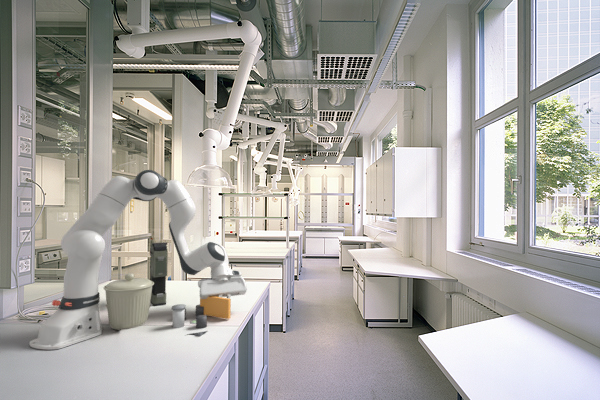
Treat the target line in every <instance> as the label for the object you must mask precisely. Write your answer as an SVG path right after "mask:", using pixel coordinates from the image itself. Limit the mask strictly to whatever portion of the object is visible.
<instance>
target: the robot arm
mask: <svg viewBox="0 0 600 400" xmlns="http://www.w3.org/2000/svg"><path fill="white" fill-rule="evenodd" d="M132 199H133V200H138V201H142V202H151V201H153V200H155V199H160V200H161V201H162V202H163V203H164V204H165V207H166V208H167V210H168V212H169V213H168V214H169V216H170V217H169V218H170V222H169V223H168V228H169V233H170V236H171V238H172V241H173V244H174V247H175V250H176V252H177V256H178V258H179V263H180V267H181V269H182V272H184V273H186V274H187V275H190V276H195V275H197V274H199V273H200V272H201V271H203V270H205V269H207V268H208V267H210V277H207V278H201V279H199V280H198V282H197V287H198V288H199V299H200V298H201V299H206V298H208V297H209V296H215V297H222V298H229V299H231V297H235V296H243V295H244V296H245V295H246V293H247V292H248V287H247V284H246V281H245V279H244V277H243V276H242V271H240V270H235V269H231V268H230V266H229V264H230V261H229V257H228V253H227V250H226V248H225V247H224V246H223V245H222V244H217V243H216V242H213V241H209V242H207V243H205V244H202V245H200V246H199V247H197V248H196V249H194V250H190V249H189V245H188V243H187V240H186V237H185V230H186V228H187V226H188V225H189V224H190V223H191V222H192V221H193V219H194V217H195V216H196V212H197V206H196V203H195V202H194V200H193V199H192V197H191V195H190V193H189V192H188V190H187V189H186V187H185V186H184V185H183V184H182V183H181V181H179V180H177V179H171V180H168V179H167V178H166V177H164V176H163V175H161V173H159V172H157V171H156V170H152V169H144V170H142V171H141V172H139V173H137V175H136V176H135V178H134V179H131V178H128V177H126V176H122V175H116V176H114V177H112V178H111V179H110V180H109V181H108V182H107V183H106V184H105V185H104V187H103V188H102V189H101V190H100V191H99V192H98V194H97V196H95V198H94V199H93V201H92V202H91V203H90V205H89V206H88V208H87V209H86V210H85V212H83V214H82V215H81V216H80V217H79V218H78V219H76V221H75V223H73V224H72V226H71V227H70V228H69V230H68V231H67V232H66V233H65V234H64V235H63V236H62V238H61V242H60V247H61V250H62V251H63V252H64V253H65V254H66V255H67V263H66V267H65V272H64V274H63V296H62V297H61V300H58V299H53V300H52V302H51V305H52V306H53V307H57V308H58V309H57V310H56V311H54V313H52V314H51V315H50V316H49V317H48V318H47V319H46V320H45V321H44V322H43V323H42V324H40V327H39V329H38V332H37V333H38V334H37V338H34V339H32V340H30V341H29V347H31V348H33V349H37V350H44V351H45V350H49V351H51V350H59V349H63V348H66V347H68V346H71V345H75V344H78V343H81V342H83V341H87V340H90V339H92V338H95V337H99V336H101V335H102V333H103V332H102V331H103V330H104V329H103V325H102V322H101V316H100V310H99V309H100V308H99V303H100V298H101V297H100V292H99V277H100V276H99V275H100V268H101V263H102V259H103V253H104V251H105V249H106V241H105V239H104V238H103V236H104V235H105V233H107V232H108V230H110V229H111V228H112V227H113V226H114V225H115V224H116V222H117V221H118V219H119V218H120V217H121V215H122V214H123V212H124V211H125V209H126V207H127V206H128V204H129V203H130V202H131V201H132Z"/></svg>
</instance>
